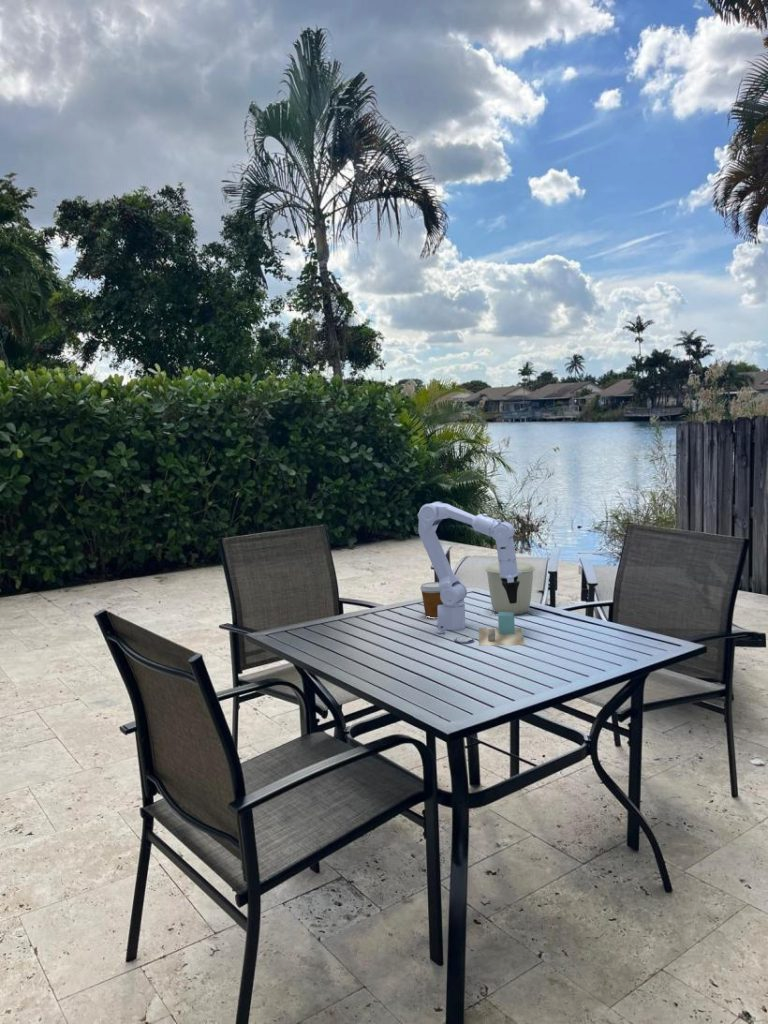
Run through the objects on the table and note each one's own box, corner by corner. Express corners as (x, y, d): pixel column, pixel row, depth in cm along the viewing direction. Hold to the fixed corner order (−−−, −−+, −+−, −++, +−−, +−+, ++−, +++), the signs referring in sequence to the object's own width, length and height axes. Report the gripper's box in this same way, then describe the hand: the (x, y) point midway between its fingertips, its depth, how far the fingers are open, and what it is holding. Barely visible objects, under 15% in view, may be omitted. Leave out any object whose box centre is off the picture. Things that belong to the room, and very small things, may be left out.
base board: (479, 649, 224) (478, 634, 223) (478, 631, 243) (478, 618, 243) (525, 648, 222) (525, 633, 221) (521, 631, 242) (520, 617, 241)
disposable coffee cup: (418, 615, 270) (417, 583, 269) (443, 612, 272) (442, 581, 270) (424, 621, 261) (423, 588, 259) (450, 618, 262) (449, 586, 261)
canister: (522, 620, 256) (520, 561, 254) (477, 614, 267) (475, 557, 265) (544, 609, 270) (543, 553, 268) (500, 604, 281) (499, 550, 279)
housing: (499, 634, 235) (498, 615, 235) (498, 630, 240) (498, 612, 239) (514, 633, 234) (514, 615, 234) (513, 629, 239) (513, 612, 239)
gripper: (521, 561, 228) (526, 603, 228) (518, 555, 242) (523, 595, 243) (498, 563, 229) (504, 606, 229) (497, 557, 243) (502, 597, 244)
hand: (512, 600), depth 236 cm, fingers open, 7 cm apart
